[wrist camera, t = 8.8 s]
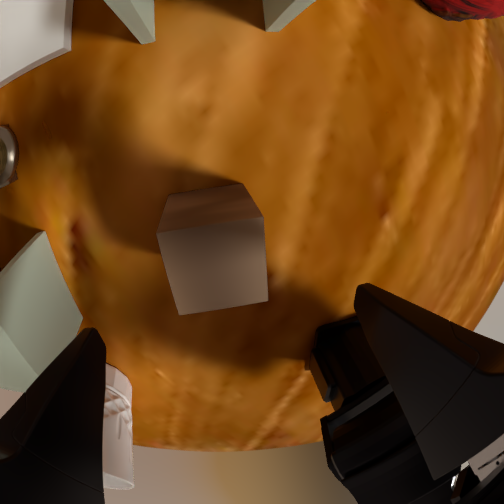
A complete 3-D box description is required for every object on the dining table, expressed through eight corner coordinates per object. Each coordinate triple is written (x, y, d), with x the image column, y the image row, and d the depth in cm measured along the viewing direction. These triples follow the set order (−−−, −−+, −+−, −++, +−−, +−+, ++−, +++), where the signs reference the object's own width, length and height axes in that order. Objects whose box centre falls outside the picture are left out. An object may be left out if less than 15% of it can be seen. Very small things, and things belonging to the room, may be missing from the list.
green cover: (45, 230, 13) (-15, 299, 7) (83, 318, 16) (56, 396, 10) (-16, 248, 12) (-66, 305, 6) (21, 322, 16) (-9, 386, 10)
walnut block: (242, 183, 14) (263, 216, 10) (248, 248, 16) (268, 300, 12) (168, 194, 14) (156, 233, 10) (182, 258, 16) (179, 315, 12)
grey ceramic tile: (79, -36, 5) (73, -42, 4) (71, 50, 8) (63, 47, 8) (-7, 13, 4) (-14, 11, 3) (-14, 97, 8) (-23, 98, 7)
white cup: (110, 407, 22) (104, 490, 14) (48, 370, 18) (26, 457, 10) (154, 385, 21) (155, 487, 13) (82, 338, 17) (53, 452, 9)
